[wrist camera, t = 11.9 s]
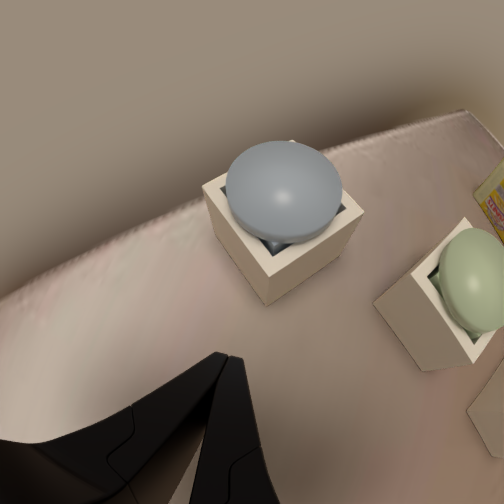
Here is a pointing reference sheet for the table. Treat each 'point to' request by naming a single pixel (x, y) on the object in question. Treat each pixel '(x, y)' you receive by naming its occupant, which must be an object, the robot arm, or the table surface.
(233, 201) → the slate blue button
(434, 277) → the sage green button
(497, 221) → the candy box
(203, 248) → the table surface
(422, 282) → the button housings
